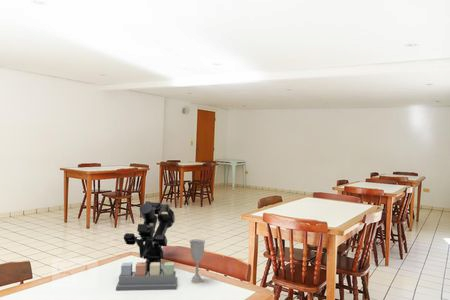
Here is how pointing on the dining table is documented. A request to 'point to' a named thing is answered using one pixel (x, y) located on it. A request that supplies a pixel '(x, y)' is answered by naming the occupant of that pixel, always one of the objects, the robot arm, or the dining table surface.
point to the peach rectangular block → (141, 269)
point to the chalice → (197, 256)
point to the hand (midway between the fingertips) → (141, 257)
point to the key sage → (168, 268)
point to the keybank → (147, 282)
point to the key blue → (126, 269)
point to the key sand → (155, 269)
